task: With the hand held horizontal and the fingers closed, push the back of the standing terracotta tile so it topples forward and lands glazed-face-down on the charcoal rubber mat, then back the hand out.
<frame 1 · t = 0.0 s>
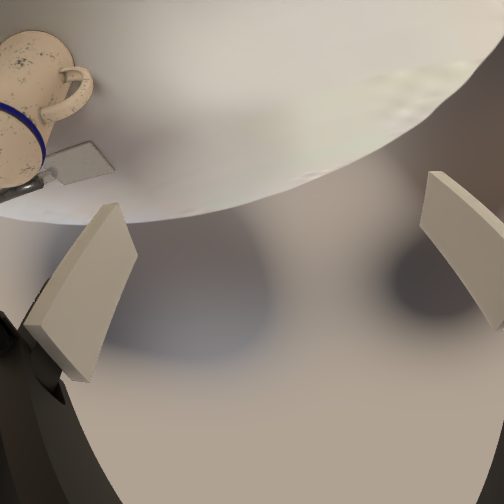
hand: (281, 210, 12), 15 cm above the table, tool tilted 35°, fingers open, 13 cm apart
teacup with lid: (45, 63, 15), on the table
turner: (46, 173, 29), on the table
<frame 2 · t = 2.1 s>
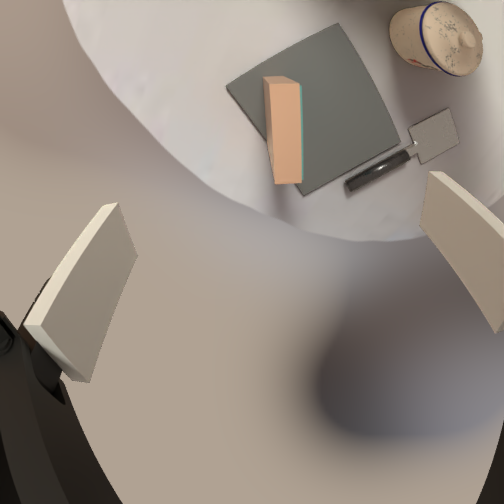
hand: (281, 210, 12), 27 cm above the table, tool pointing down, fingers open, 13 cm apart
tile: (275, 111, 33), point 1 cm above the table, touching mat
teacup with lid: (423, 36, 25), on the table
mat: (321, 110, 33), on the table
turner: (409, 149, 36), on the table
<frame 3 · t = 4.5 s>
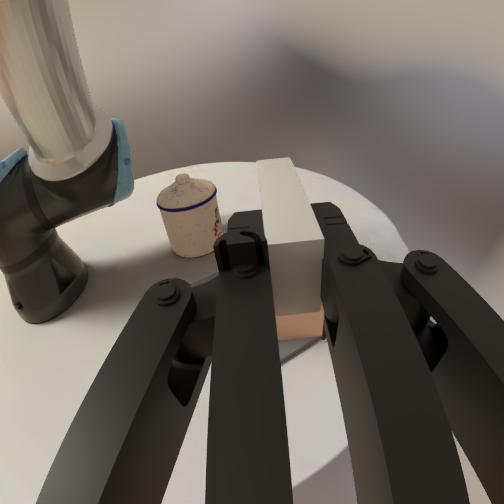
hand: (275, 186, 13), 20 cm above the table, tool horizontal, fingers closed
tile: (280, 331, 31), point 1 cm above the table, touching mat
teacup with lid: (196, 238, 49), on the table
mat: (277, 296, 36), on the table
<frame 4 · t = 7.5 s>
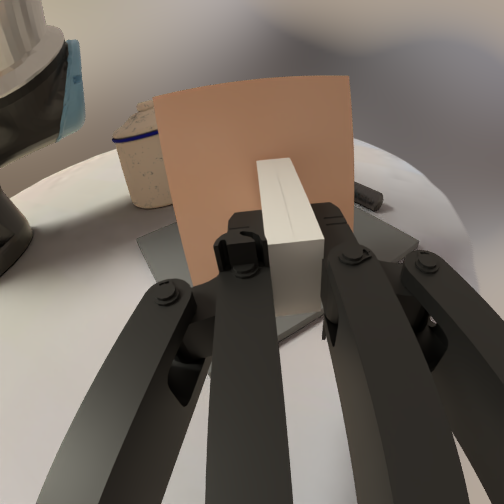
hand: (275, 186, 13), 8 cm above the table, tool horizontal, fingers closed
tile: (273, 289, 18), point 1 cm above the table, tilted 7°, touching mat
teacup with lid: (165, 190, 36), on the table
mat: (269, 245, 23), on the table
turner: (302, 176, 34), on the table
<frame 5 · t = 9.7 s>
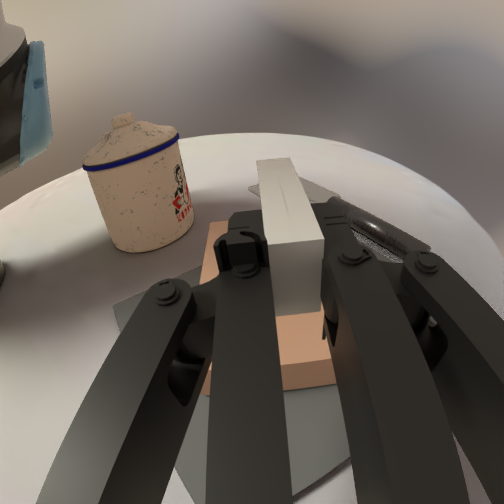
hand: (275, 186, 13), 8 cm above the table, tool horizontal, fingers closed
tile: (295, 377, 12), point 2 cm above the table, tilted 90°, touching mat
teacup with lid: (153, 223, 29), on the table
mat: (288, 328, 17), on the table
turner: (324, 210, 27), on the table
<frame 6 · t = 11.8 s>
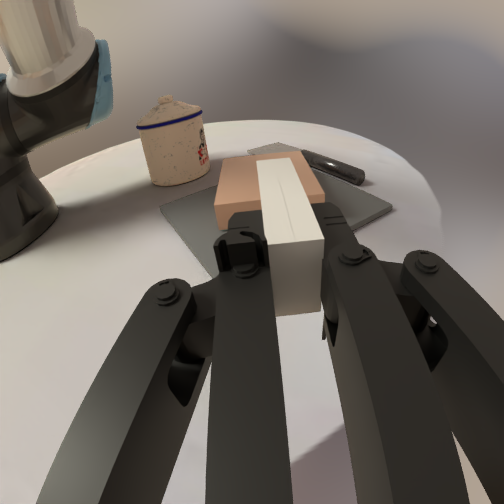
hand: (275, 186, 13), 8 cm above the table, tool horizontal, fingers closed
tile: (270, 211, 24), point 2 cm above the table, tilted 90°, touching mat
teacup with lid: (180, 172, 42), on the table
mat: (270, 208, 29), on the table
turner: (298, 160, 39), on the table
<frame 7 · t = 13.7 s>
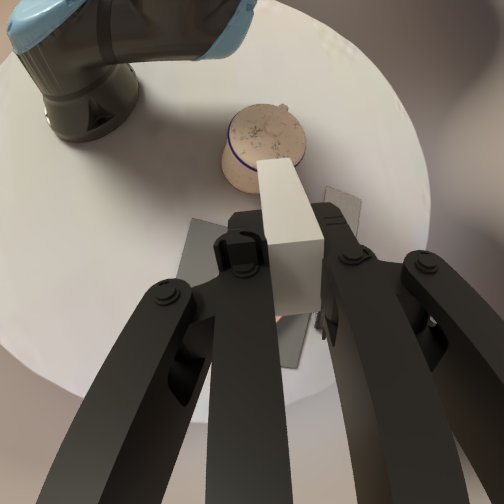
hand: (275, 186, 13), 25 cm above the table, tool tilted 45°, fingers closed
teacup with lid: (256, 157, 40), on the table
mat: (244, 297, 38), on the table
turner: (334, 251, 41), on the table
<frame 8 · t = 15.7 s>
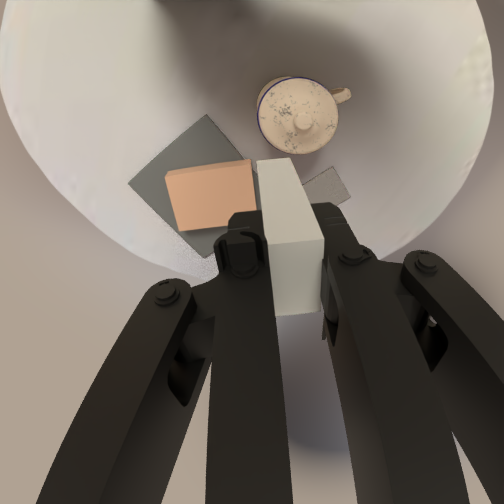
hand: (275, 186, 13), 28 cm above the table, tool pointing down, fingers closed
tile: (173, 201, 42), point 2 cm above the table, tilted 90°, touching mat
teacup with lid: (297, 102, 36), on the table
mat: (203, 192, 44), on the table
turner: (293, 211, 46), on the table
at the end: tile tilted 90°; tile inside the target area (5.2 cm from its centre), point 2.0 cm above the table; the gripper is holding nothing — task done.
